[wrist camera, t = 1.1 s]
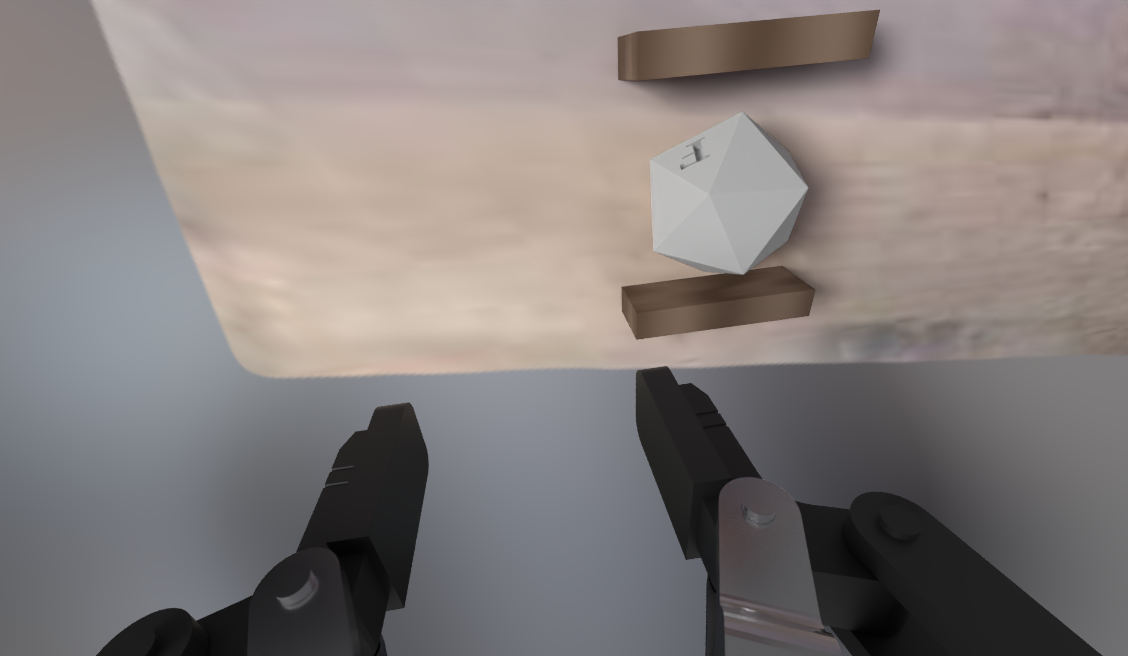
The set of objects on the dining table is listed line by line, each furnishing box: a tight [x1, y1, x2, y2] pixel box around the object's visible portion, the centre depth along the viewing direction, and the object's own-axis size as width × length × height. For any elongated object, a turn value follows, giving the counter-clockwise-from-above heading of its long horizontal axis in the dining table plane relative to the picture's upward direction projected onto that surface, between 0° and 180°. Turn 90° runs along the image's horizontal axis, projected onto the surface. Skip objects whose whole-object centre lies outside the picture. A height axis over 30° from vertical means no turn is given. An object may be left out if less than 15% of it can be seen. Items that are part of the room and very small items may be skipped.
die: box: [650, 111, 808, 275], centre depth 25 cm, size 8×9×10 cm
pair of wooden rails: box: [618, 10, 880, 340], centre depth 27 cm, size 12×17×4 cm
